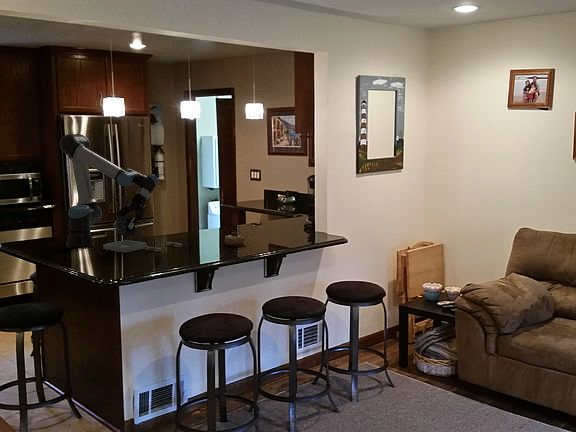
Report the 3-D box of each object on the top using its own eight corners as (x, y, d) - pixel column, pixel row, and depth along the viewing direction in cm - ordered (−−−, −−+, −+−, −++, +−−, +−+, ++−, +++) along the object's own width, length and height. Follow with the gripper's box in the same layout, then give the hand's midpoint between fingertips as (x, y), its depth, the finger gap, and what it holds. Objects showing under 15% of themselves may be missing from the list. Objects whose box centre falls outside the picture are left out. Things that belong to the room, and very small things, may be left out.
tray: (103, 249, 354) (103, 244, 353) (125, 245, 368) (125, 240, 367) (124, 252, 345) (124, 247, 344) (146, 248, 359) (146, 242, 358)
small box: (136, 235, 354) (135, 216, 352) (126, 236, 349) (125, 217, 348) (125, 233, 361) (125, 215, 360) (116, 234, 356) (115, 216, 355)
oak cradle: (144, 249, 354) (144, 246, 353) (166, 244, 369) (166, 241, 369) (160, 252, 347) (160, 248, 347) (182, 247, 363) (182, 243, 362)
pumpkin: (220, 245, 371) (220, 230, 369) (235, 242, 379) (235, 228, 378) (234, 247, 362) (234, 232, 361) (249, 245, 371) (249, 230, 370)
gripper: (159, 202, 359) (140, 233, 349) (130, 200, 372) (111, 229, 361) (152, 194, 354) (133, 224, 343) (123, 192, 367) (103, 221, 356)
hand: (122, 227), depth 352 cm, fingers closed on small box, 11 cm apart
